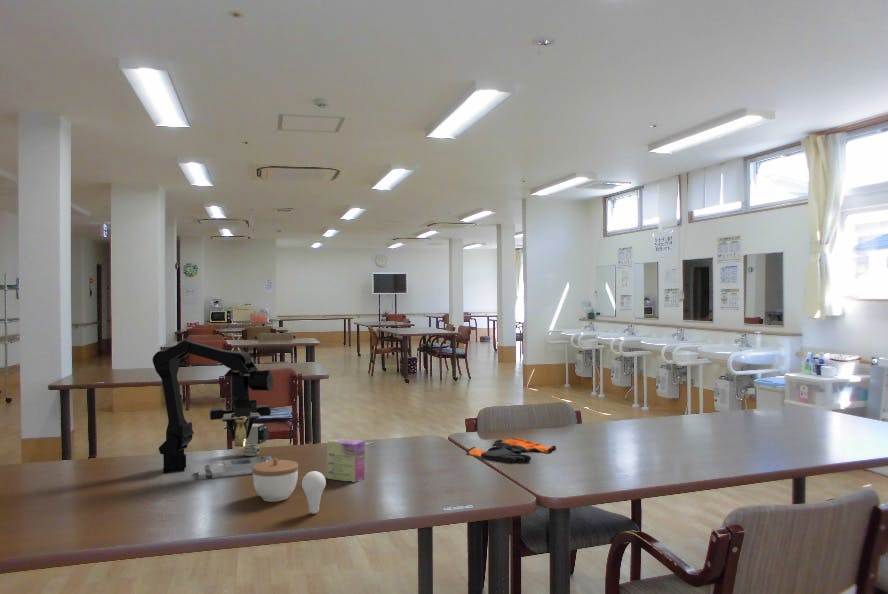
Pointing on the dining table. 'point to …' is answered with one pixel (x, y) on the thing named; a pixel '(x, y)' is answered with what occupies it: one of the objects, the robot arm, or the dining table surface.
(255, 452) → the pneumatic valve
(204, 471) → the silver plate
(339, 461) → the box
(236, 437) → the brass knob
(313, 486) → the lightbulb
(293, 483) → the lidded bowl
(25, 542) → the dining table surface
